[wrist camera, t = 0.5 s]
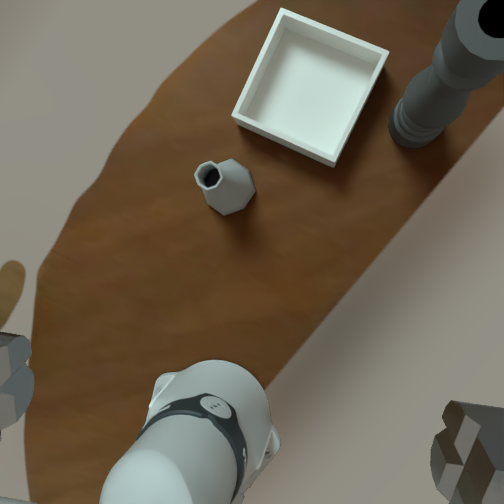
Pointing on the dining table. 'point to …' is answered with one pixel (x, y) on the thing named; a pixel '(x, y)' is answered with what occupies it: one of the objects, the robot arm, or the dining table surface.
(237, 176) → the flask
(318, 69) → the box
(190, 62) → the dining table surface
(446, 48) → the candle holder
